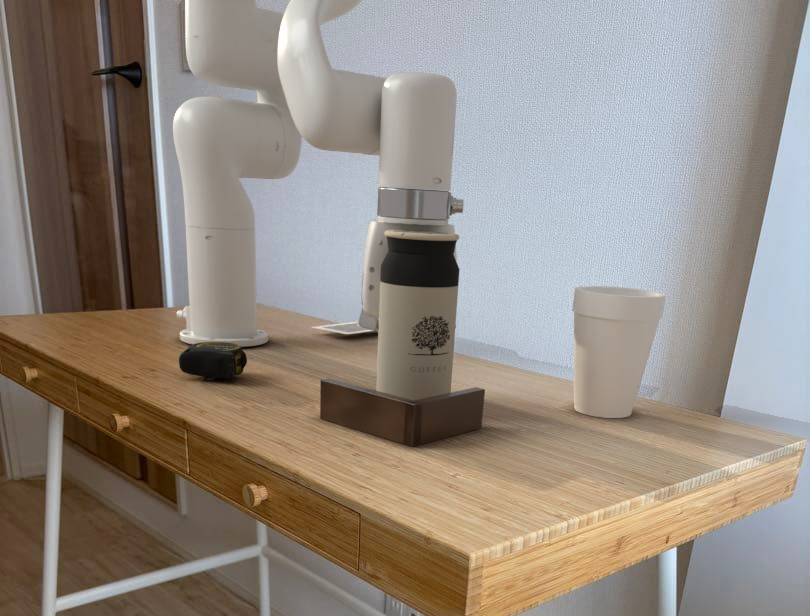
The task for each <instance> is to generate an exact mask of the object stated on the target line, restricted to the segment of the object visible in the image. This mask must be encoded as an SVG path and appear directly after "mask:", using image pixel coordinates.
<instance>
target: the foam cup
mask: <svg viewBox="0 0 810 616" xmlns="http://www.w3.org/2000/svg"><path fill="white" fill-rule="evenodd" d="M666 297H667V295H666V294H665V293H663V292H659V291H655V290H649V289H641V288H634V287H633V288H632V287H620V286H607V285H606V286H604V285H603V286H602V285H585V286H583V285H582V286H577V287H574V293H573V302H572V309H571V310H572V312H573V403H574V406H573V407H574V408H573V409H574V410H575V411H576V412H578V413H580V414H583V415H585V416H590V417H595V418H604V419H622V418H628V417H630V416H631V415H632V412H633V409H634V407H635V404H636V400H637V397H638V395H639V390H640V386H641V383H642V380H643V377H644V374H645V370H646V367H647V364H648V360H649V357H650V353H651V350H652V347H653V343H654V341H655V337H656V334H657V331H658V327H659V324H660V320H661V319H663V315H664V311H665V303H666Z"/></svg>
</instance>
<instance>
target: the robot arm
mask: <svg viewBox="0 0 810 616" xmlns="http://www.w3.org/2000/svg"><path fill="white" fill-rule="evenodd" d="M362 1H363V0H289V2H288V3H287V6H286V8H285V11H284V13H282V12H279V11H276V10H272V9H266V8H261V7H258V6H257V3H256V0H184V17H185V18H184V30H185V31H184V32H185V33H184V35H185V36H184V38H185V55H186V61H187V65H188V68H189V70H190V71H191V73H192V75H194V77H196V79H198V80H200V81H202V82H204V83H207V84H211V85H216V86H221V87H226V88H232V89H233V88H234V89H239V90H240V89H241V90H247V91H256V99H257V102H256V101H247V100H242V99H234V98H227V97H220V96H218V97H217V96H197V97H193V98H190V99H187V100H186V101H184V102H183V103H182V104H181V105H180V106H179V107H178V108H177V110H176V112H175V114H174V117H173V121H172V136H173V143H174V148H175V149H174V150H175V153H176V157H177V162H178V168H179V171H180V177H181V184H182V185H181V186H182V193H183V205H184V207H183V208H184V224H185V226H184V227H185V243H186V244H185V245H186V263H187V278H188V279H187V282H188V283H187V284H188V286H187V287H188V300H189V301H188V303H189V305H185V306H184V307H183V310H182V309H179V310H177V312H176V318H177V319H178V320H181V321H186V328H184V329H182V330H181V331H180V332H179V340H180V341H181V342H183V343H186V344H188V345H193V344H196V343H201V342H228V343H234V344H238V345H240V346H241V347H242V348H249V347H256V346H261V345H264V344H266V343H268V342H269V333H268V332H267V331H264V330H262V329H258V308H257V307H258V303H257V302H258V301H257V254H256V253H257V252H256V250H257V247H256V242H257V241H256V216H255V215H256V214H255V210H254V206H253V203H252V200H251V199H250V197H249V195H248V193H247V191H246V189H245V187H244V186H243V184H242V182H241V180H240V179H259V180H260V179H262V180H281V179H285V178H286V177H288V176H290V175H292V173H293V172H294V171H295V170H296V168H297V165H298V163H299V160H300V157H301V152H302V145H303V144H302V143H303V140H304V141H306V143H307V144H309V145H310V146H312V147H313V148H316V149H319V150H321V151H326V152H327V151H328V152H339V153H349V154H350V153H351V154H362V155H367V156H379V160H378V183H377V184H378V185H377V186H378V187H377V207H376V209H377V210H376V211H377V213H376V215H377V216H376V219H369V224H368V228H367V232H366V239H365V245H364V253H363V264H362V265H363V266H362V280H361V305H362V307H361V311H360V314H359V318H358V320H359V325H360V326H361V327H363V328H366V329H369V330H373V331H372V332H377V333H378V328H379V301H380V274H381V264H382V262H383V260H384V258H385V256H386V255H387V253H388V251H389V250H388V242H387V237H386V236H385V234H384V233H385V231H386V230H412V231H433V232H446V233H454V234H456V230H455V224H450V223H449V220H450V217H451V216H452V215H456V214H463V213H464V203H465V201H464V199H460V198H457V197H454V195H452V192H451V188H452V187H451V186H452V173H453V159H454V143H455V131H456V130H455V129H456V117H457V116H456V115H457V99H458V94H457V88H456V84H455V83H454V81H453V80H452V79H451V78H449V77H447V76H445V75H442V74H437V73H433V72H432V73H431V72H419V71H406V72H396V73H393V74H390V75H389V76H388V77H381V76H375V75H372V74H365V73H360V72H353V71H349V70H343V69H342V70H341V69H335V68H333V67H332V65H331V62H330V60H329V56H328V53H327V50H326V47H325V44H324V40H323V36H322V31H321V25H323V24H327V23H329V22H331V21H335V20H337V19H338V18H341V17H343V16H345V15H346V14H347V13H348V14H349V12H351V11H352V10H353V9H354V8H356V7H357V6H358V5H359V4H360V3H361V2H362ZM453 254H454V257H455V259H456V262H457V263H458V259H457V258H458V257H457V244H456V245H455V250H454V253H453ZM456 329H457V324H456V325H455V330H456Z"/></svg>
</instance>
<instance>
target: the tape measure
mask: <svg viewBox="0 0 810 616" xmlns="http://www.w3.org/2000/svg"><path fill="white" fill-rule="evenodd" d="M247 363H248V357H247V353H246V351H244V350H243V347H241V346H240V345H238V344H234V343H228V342H201V343H196V344H193V345H192V344H189V346H188V347H187V348H186V349H185V350H184V351H182V352H181V353H180V354H179V356H178V366H179V369H180V371H182V373H184V374H188V375H192V376H197V377H203V378H204V379H205V380H208V381H213V380H216V379H235V377H237V376H240V375H241V374H243V372H244V369H245V367H246V365H247Z"/></svg>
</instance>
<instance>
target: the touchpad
mask: <svg viewBox="0 0 810 616" xmlns="http://www.w3.org/2000/svg"><path fill="white" fill-rule="evenodd" d="M311 329H317V330H322V331H327V332H331V333H338V334H341V335H353V334H354V335H355V334H360V335H361V334H363V333H369V332H374V331H373V330H369V329H366V328H363V327H361V326H360V325H359V319H358V321H350V322H341V323H333V324H324V325H317V326H311Z"/></svg>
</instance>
